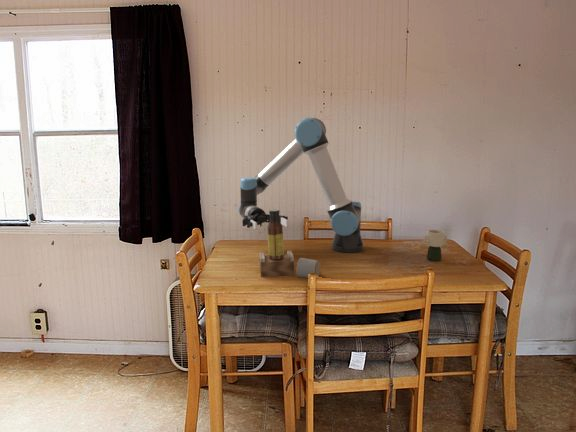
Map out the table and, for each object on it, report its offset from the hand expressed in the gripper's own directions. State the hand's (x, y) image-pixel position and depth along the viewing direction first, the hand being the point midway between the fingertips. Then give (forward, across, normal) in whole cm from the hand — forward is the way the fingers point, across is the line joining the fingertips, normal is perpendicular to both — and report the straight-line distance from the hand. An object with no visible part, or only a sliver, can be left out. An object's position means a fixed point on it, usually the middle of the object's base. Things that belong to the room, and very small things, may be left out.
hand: (271, 225), depth 198 cm
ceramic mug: (+14, -10, -19) cm, 26 cm away
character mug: (+14, -71, -19) cm, 75 cm away
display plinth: (+5, 0, -19) cm, 19 cm away
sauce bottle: (+5, 0, -13) cm, 14 cm away
